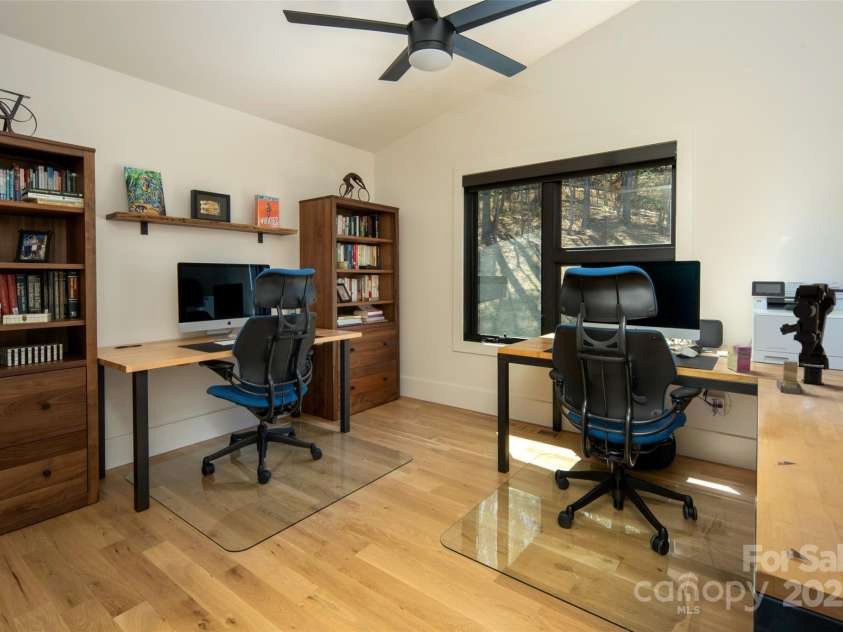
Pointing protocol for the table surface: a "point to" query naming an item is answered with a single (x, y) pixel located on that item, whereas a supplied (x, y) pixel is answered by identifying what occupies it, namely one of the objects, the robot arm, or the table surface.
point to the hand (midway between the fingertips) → (806, 357)
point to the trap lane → (789, 388)
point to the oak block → (790, 373)
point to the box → (739, 357)
